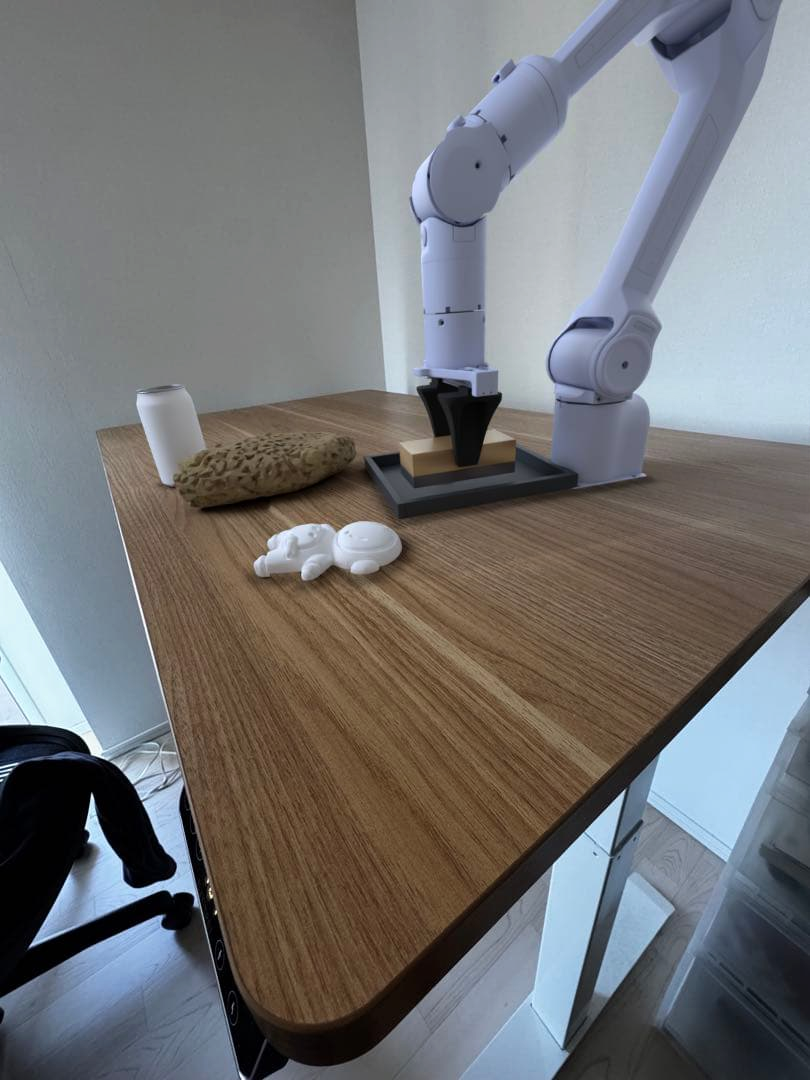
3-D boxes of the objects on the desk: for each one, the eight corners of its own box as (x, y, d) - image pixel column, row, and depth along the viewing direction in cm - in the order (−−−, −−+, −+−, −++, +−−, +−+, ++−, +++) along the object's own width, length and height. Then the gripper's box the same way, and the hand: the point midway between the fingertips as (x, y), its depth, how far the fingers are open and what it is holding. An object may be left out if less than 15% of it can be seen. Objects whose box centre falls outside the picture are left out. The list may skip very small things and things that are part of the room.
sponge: (189, 533, 48) (365, 474, 49) (155, 463, 46) (340, 402, 46) (222, 508, 61) (361, 461, 61) (197, 452, 58) (342, 404, 59)
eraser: (494, 459, 51) (494, 428, 49) (514, 472, 47) (516, 439, 45) (401, 473, 49) (398, 442, 47) (414, 488, 44) (411, 454, 43)
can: (218, 479, 60) (192, 386, 55) (166, 491, 57) (134, 394, 52) (207, 468, 65) (183, 382, 60) (159, 479, 62) (129, 389, 57)
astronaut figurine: (281, 537, 43) (274, 508, 41) (405, 533, 42) (403, 503, 40) (245, 588, 35) (235, 554, 34) (397, 585, 34) (393, 550, 32)
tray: (502, 451, 63) (502, 436, 62) (576, 492, 47) (578, 473, 47) (365, 471, 59) (363, 456, 58) (399, 524, 43) (397, 504, 43)
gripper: (393, 316, 46) (402, 446, 52) (439, 315, 34) (444, 485, 40) (457, 311, 48) (458, 438, 54) (524, 308, 35) (516, 473, 41)
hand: (456, 457), depth 47 cm, fingers closed on eraser, 5 cm apart
